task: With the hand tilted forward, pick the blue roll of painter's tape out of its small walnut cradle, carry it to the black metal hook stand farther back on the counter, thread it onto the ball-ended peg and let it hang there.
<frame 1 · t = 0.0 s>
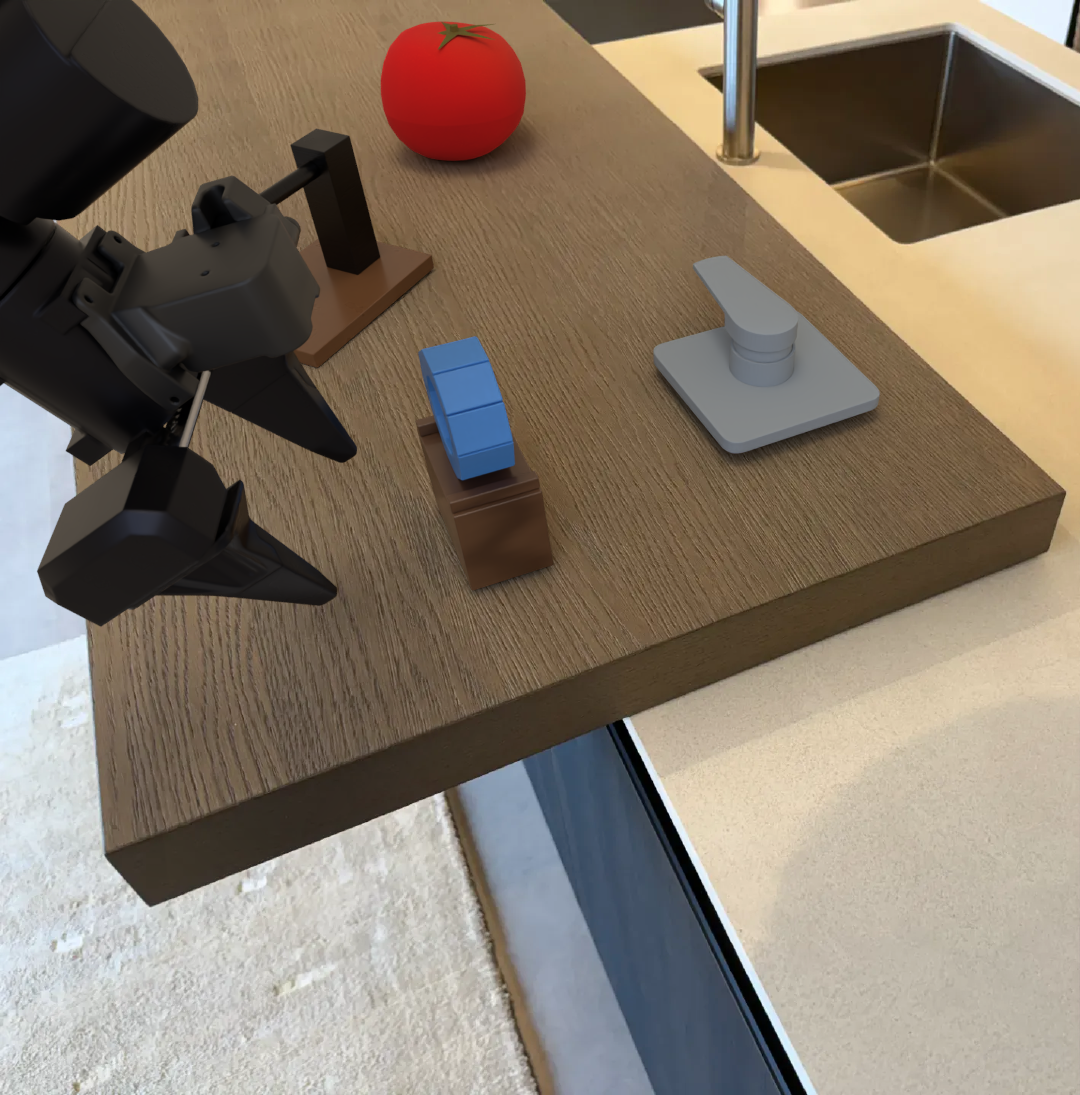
hand: (341, 522, 47), 12 cm above the worktop, tool tilted 35°, fingers open, 9 cm apart
tape cradle: (493, 532, 64), on the worktop
tomato: (463, 150, 100), on the worktop
hook stand: (309, 313, 80), on the worktop
shower valve: (754, 374, 75), on the worktop
tape roll: (477, 458, 59), point 6 cm above the worktop, touching tape cradle
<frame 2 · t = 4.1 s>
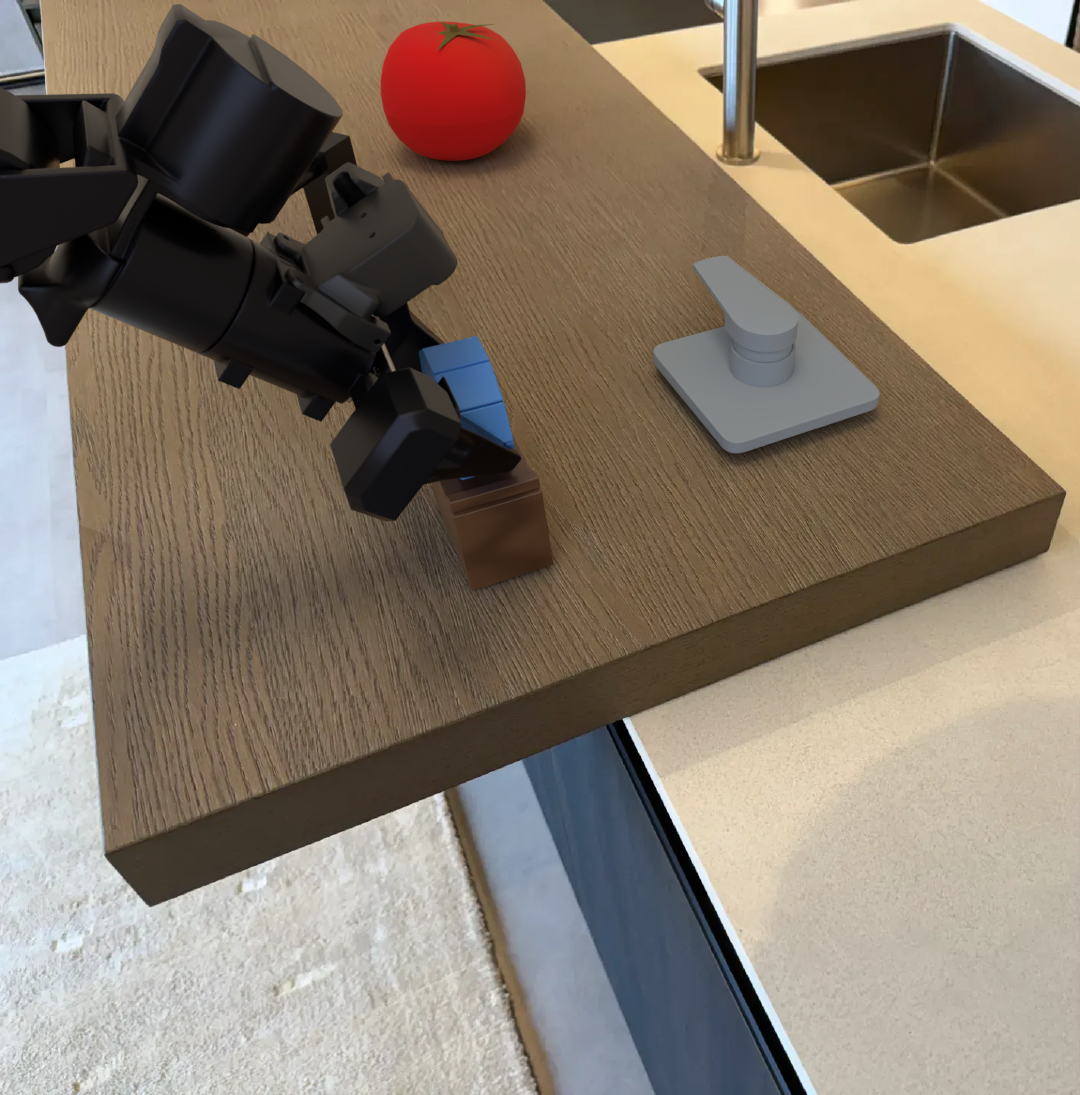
hand: (495, 421, 58), 8 cm above the worktop, tool tilted 45°, fingers closed on tape roll, 7 cm apart
tape roll: (477, 458, 59), point 6 cm above the worktop, touching gripper, tape cradle
everything else where it was.
when the fingers open (7 cm above the worktop, at t = 13.8 s): tape roll stays where it is, resting on hook stand.
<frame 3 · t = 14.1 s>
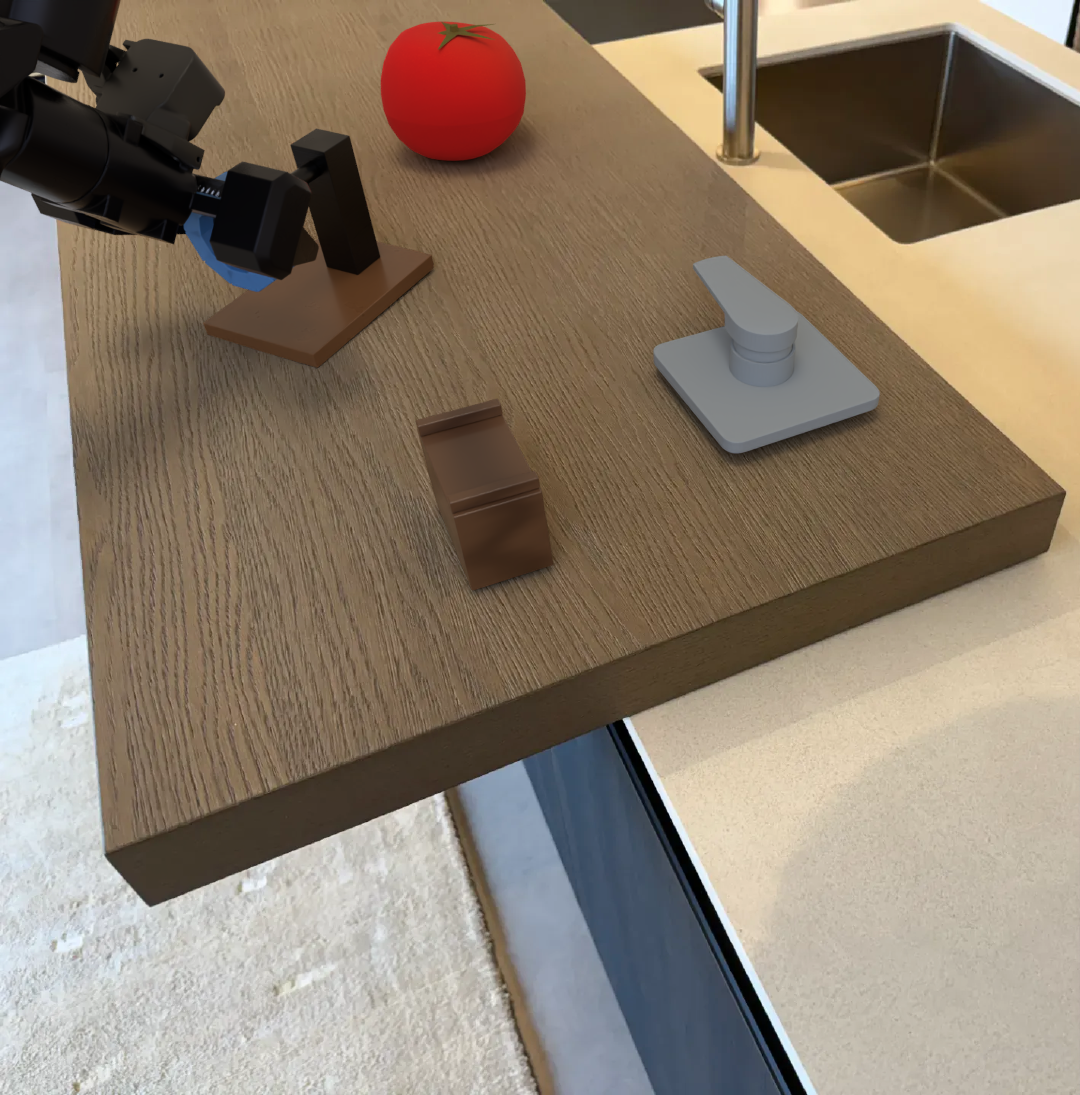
hand: (262, 239, 73), 7 cm above the worktop, tool tilted 45°, fingers open, 9 cm apart
tape roll: (258, 278, 74), point 5 cm above the worktop, touching hook stand
everything else where it was.
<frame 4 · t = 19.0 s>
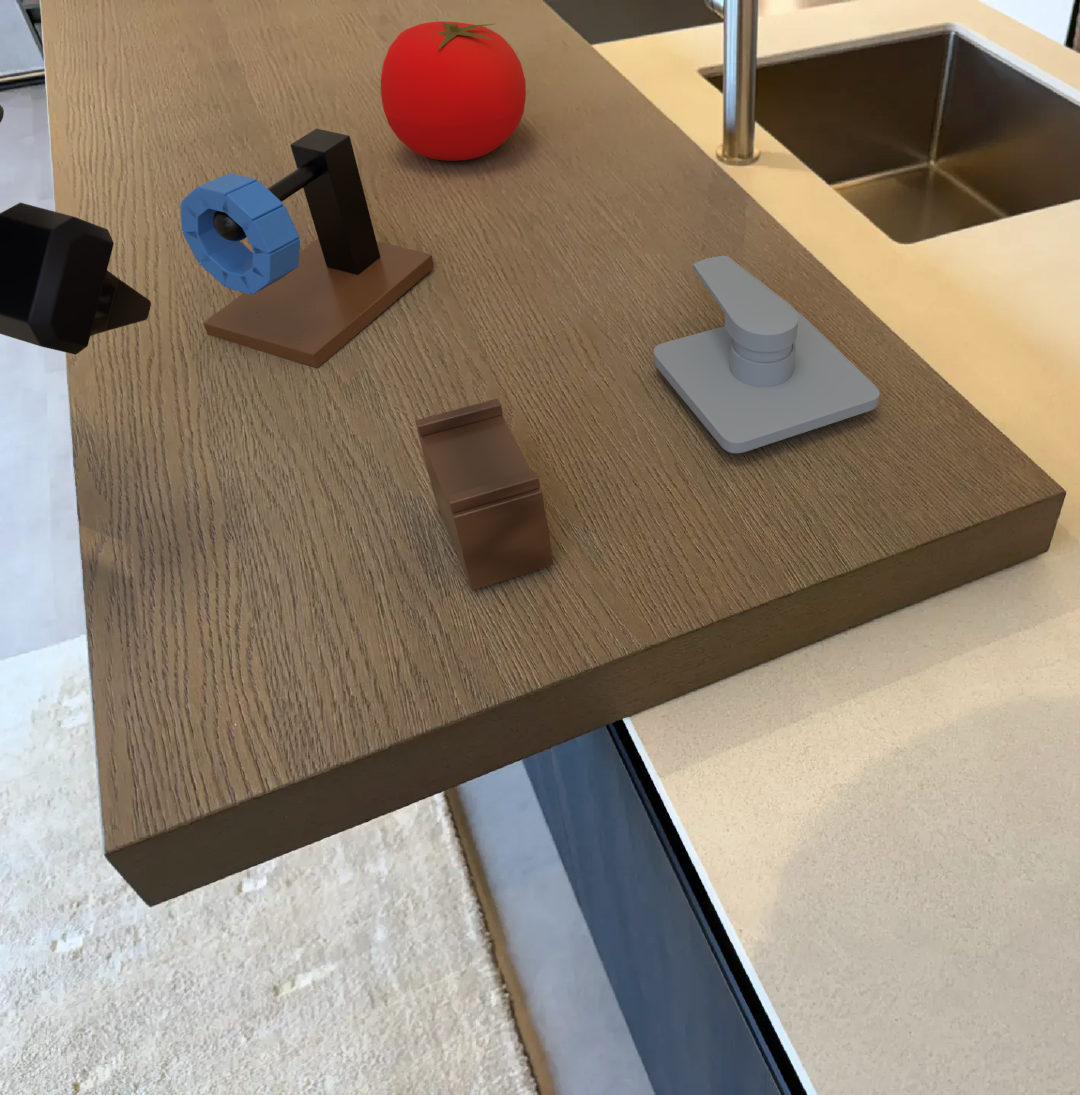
hand: (84, 292, 59), 13 cm above the worktop, tool tilted 45°, fingers open, 9 cm apart
tape roll: (253, 283, 73), point 5 cm above the worktop, tilted 7°, touching hook stand
everything else where it was.
at the end: tape roll 0.8 cm from the target spot on the hook stand, point 5.0 cm above the hook stand's base; tape roll touching hook stand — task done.
